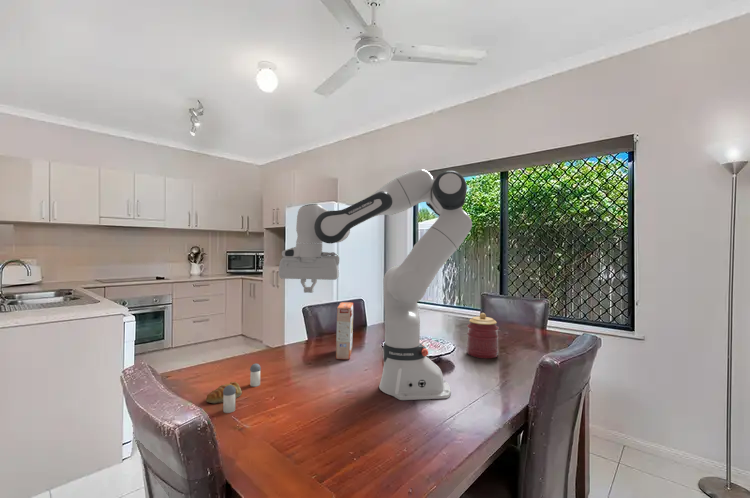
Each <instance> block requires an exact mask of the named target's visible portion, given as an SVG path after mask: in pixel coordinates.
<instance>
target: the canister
mask: <svg viewBox="0 0 750 498" xmlns="http://www.w3.org/2000/svg"><path fill="white" fill-rule="evenodd" d="M468 322H469V323H468V324H467V325H466V327H467V332H466V337H467V339H466V341H467V342H466V353H467V355H469V356H471V357H473V358H479V359H495V358H497V357H498V355H499V334H498V331H499V329H500V327H499V326H497V323H498V322H497V321H496V320H495V319H494V318H492V317H488V316H487V315H486V313H484V312H481V313H480V314H479V316H473V317H471V318H470V319H469V320H468Z"/></svg>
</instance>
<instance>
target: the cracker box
mask: <svg viewBox="0 0 750 498" xmlns="http://www.w3.org/2000/svg"><path fill="white" fill-rule="evenodd" d="M336 309H337V310H336V336H335V337H336V339H335V341H336V342H335V345H336V347H335V360H348V361H349V360H350V359H351V355H352V351H353V336H354V334H353V333H354V332H353V331H354V330H353V329H354V302H352V301H351V302H350V301H349V302H348V301H346V302H339V304H338V306H337V308H336Z"/></svg>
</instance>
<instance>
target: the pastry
mask: <svg viewBox="0 0 750 498" xmlns="http://www.w3.org/2000/svg"><path fill="white" fill-rule="evenodd" d="M228 385H233V386H234V387H235V388H236V393H235V399H237V398H239V397H240V396H241V395H242V394H243V393H242V389H241V387H240V385H239V383H238V382H236V381H234V382H233V381H231V382H230V383H226V384H221V385H219V386H218V387H217V388H215V389H213V390H212V391H211V392H209V393H208V394H207V395H206V398H205V399H206V400H205V401H206V402H207V403H211V404H218V403H223V396H224V394H223V390H224V388H225V387H226V386H228Z"/></svg>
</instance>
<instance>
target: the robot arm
mask: <svg viewBox="0 0 750 498" xmlns="http://www.w3.org/2000/svg"><path fill="white" fill-rule="evenodd" d="M467 187H468V186H467V182H466V180H465V177H464V176H463V175H462V174H461V173H460V172H458V171H456V170H446V171H442V172H441V173H439V174H438V175H437V176H436V177H435V178H434V177H433V175H432V174H431V173H430V171H428V170H426V169H423V168H419V169H416V170H413V171H410V172H406V173H404V174H402V175H400V176H398V177H396V178H394V179H393V180H391V181H389V182H387V183H386V184H384V185H383V186H382V187H380V188H379V189H377V190H376V191H375V192H373V193H372V194H371V195H369V196H368V197H366V198H364V199H361V200H360V201H358V202H356V203H354V204H352V205H350V206H348V207H346V208H342V209H340V210H328V209H326V208H325V207H323V206H322V205H321V204H318V203H311V204H305V205H302V206H301V207H299V209H298V211H297V216H296V229H295V230H296V233H297V238H296V241H295V247H291V248H287V249H284V250H282V251H281V256H282V258H281V259H280V261H279V266H278V277H279V279H283V280H287V279H288V280H289V279H291V280H300V284H301V285H302V287H303V293H312V294H313V293H314V287H315V286H316V284H317V282H318V281H317V280H321V281H322V280H327V281H328V280H332V281H335V280H338V278H339V275H340V273H339V264H340V256H339V255H338V253H336V252H329V251H328V252H327V251H323V243H325V244H337V243H342V242H343V241H345V240H346V239H347V238H348V236H349V235H350V233H351V232H350V231H351V229H352V228H355V227H356V226H358V225H360V224H362V223H365V222H366V221H368V220H371V219H373V218H374V217H377V216H382V215H384V216H385V215H387V216H388V215H389V216H393V215H396V214H400V213H403V212H404V211H407V210H409V209H410V208H413V207H414V206H416V205H419V204H421V203H425V204H426V206H427V207H428V208H429V209H430V210H431V211H433V212H434V213H435V214H436V215H437V216H438V218H437V219H436V220H435V221H434V222H433V224H432V225H431V226H430V228H428V229H427V230H426V232H425V233H424V234H423V235H422V236H421V237H420V239H419V240H417V242H416V243H415V244H414V245H413V247H412V249H411V251H410V252H409V254H408V255H407V257H406V258H405V259H404V260H403V262H402V263H401V264H399V265H397V264H396V265H394V266H392V267H390V268H389V269H388V270H387V271H386V272H385V274H384V276H383V304H384V305H383V306H384V313H385V314H384V315H385V317H384V319H385V320H384V321H385V324H384V327H385V328H384V332H385V333H384V343H383V346H382V347H383V348H382V349H383V350H382V359H383V369H382V375H381V379H380V383H379V386H378V387H379V390H380V391H382V392H383V393H385V394H387V395H389V396H392V397H394V398H395V399H398V400H399V401H413V400H415V401H416V400H431V399H432V400H436V399H439V400H440V399H448V398H449V397H450V396H451V393H452V392H451V387H450V384H449V383H448V382H447V381H446V380H445V379H444V375H443V372H442V369H441V368H440V366H438V365H437V364H436V363H435V362H434V361H432V360H431V359H430V358H429V357H428V355H429V351H428V349H427V347H426V346H425V345H424V344H422V343H420V340H421V337H420V336H421V335H420V334H421V332H420V330H421V319H420V313H419V307H418V302H419V301H420V300H422V299H423V297H424V296H425V295H426V293H427V289H428V288H429V287H430V285H431V284H432V282H433V280H434V279H435V277H436V276H437V274H438V273H439V271H440V269H441V268H442V267H444V264H445V263H446V262H447V261H448V260H449V259H450V257H451V256H453V254H454V253H455V252H456V251H457V250H458V249H459V247H460V246H461V245H462V243H463V242H464V241H465V239H466V238H467V236H468V235H469V233H470V231H471V230H472V227H473V222H472V221H473V220H472V219H471V217H470V215H469V214H468V213H467V212H466V211H465V210H463V206H464V205H465V202H466V201H465V200H466V196H467V192H468V191H467V190H468V188H467ZM307 280H311V281H310V282H311V285H310V286H307V284H306V282H307Z"/></svg>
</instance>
